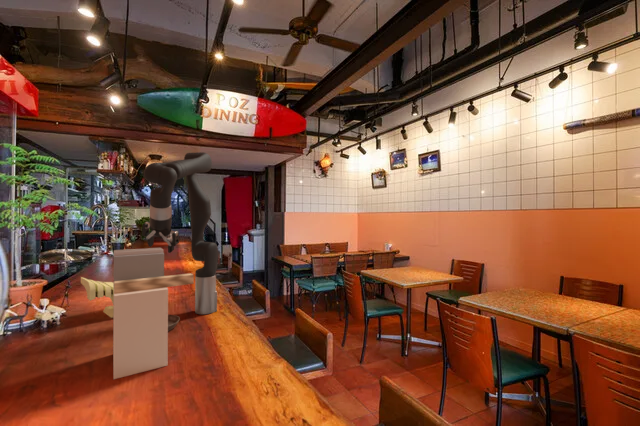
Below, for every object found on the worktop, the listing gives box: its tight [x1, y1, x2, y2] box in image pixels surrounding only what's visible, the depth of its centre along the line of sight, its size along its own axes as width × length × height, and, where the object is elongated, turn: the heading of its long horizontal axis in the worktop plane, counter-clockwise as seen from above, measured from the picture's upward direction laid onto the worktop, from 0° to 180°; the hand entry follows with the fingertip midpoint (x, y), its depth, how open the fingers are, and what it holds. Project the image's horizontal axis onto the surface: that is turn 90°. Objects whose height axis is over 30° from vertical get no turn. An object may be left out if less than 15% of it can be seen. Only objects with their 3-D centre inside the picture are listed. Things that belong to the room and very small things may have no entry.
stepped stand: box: [112, 247, 169, 380], centre depth 97 cm, size 14×18×35 cm
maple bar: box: [113, 272, 195, 294], centre depth 96 cm, size 22×3×3 cm, turn 125°
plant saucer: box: [168, 314, 181, 332], centre depth 123 cm, size 18×18×3 cm
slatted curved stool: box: [80, 276, 114, 319], centre depth 142 cm, size 30×16×18 cm, turn 140°
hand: (160, 248), depth 123 cm, fingers open, 8 cm apart
